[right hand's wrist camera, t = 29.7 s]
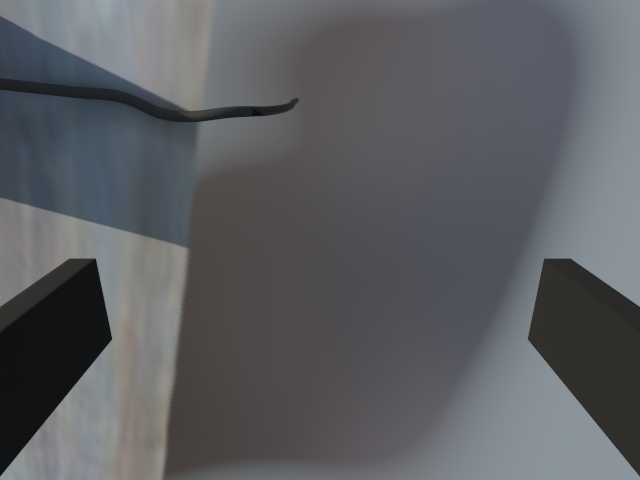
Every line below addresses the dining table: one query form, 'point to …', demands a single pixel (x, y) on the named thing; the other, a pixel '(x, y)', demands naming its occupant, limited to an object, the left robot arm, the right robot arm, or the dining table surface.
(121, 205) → the dining table surface
